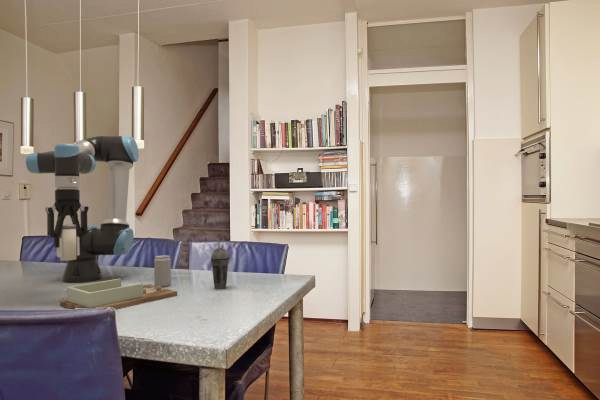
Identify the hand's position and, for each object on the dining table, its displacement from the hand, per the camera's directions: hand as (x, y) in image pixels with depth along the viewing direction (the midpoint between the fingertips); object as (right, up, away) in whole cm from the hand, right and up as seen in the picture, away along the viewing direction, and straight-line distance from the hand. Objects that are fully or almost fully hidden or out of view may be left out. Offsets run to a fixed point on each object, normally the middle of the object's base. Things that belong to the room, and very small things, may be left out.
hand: (68, 255), depth 148 cm
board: (+18, -16, +1) cm, 24 cm away
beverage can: (+25, -15, +25) cm, 38 cm away
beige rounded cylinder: (0, -1, 0) cm, 1 cm away
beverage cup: (+49, -15, +20) cm, 55 cm away
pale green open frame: (+15, -14, -4) cm, 20 cm away
